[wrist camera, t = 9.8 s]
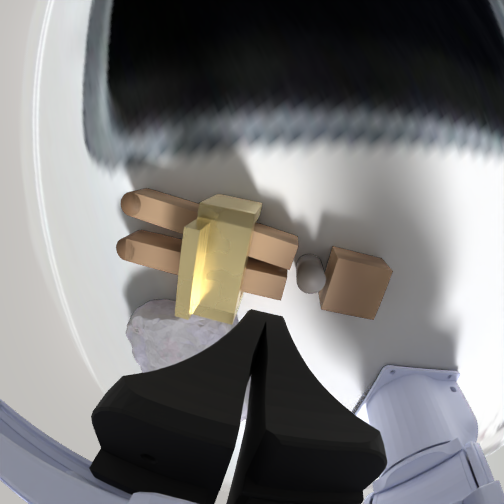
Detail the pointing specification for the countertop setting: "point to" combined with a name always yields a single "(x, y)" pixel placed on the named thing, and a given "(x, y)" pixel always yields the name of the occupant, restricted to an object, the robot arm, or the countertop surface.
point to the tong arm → (184, 212)
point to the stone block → (172, 337)
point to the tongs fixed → (283, 273)
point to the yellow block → (215, 258)
